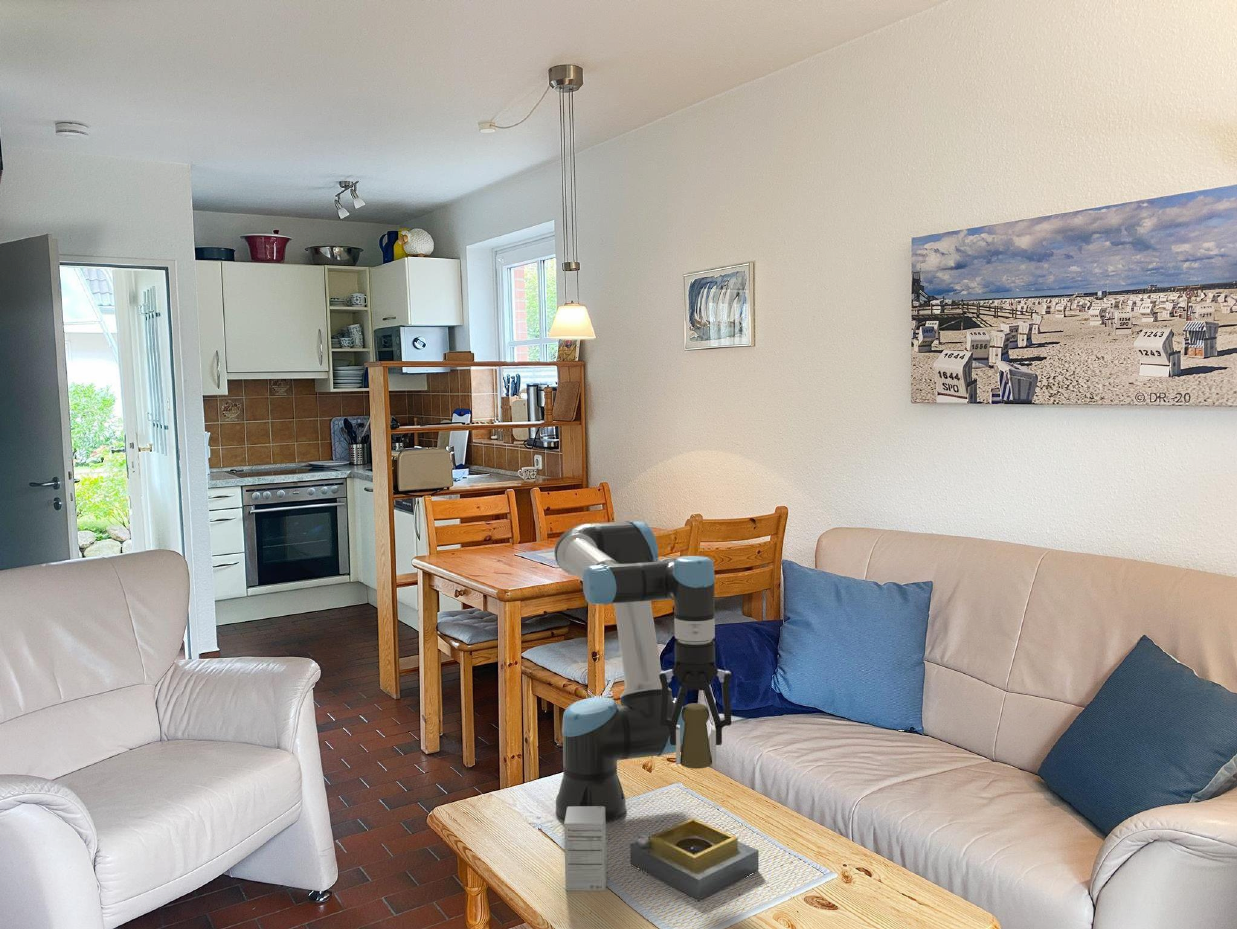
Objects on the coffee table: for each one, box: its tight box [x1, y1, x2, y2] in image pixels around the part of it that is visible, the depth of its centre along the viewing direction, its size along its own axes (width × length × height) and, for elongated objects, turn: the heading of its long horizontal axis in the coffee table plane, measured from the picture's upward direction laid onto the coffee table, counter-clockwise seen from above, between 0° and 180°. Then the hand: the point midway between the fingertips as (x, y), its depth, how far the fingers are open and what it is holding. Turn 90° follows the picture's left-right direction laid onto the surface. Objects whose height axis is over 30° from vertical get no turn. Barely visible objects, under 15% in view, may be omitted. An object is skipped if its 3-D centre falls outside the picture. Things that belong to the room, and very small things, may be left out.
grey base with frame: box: [629, 817, 760, 903], centre depth 173 cm, size 18×16×6 cm
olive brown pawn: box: [679, 702, 713, 770], centre depth 173 cm, size 6×6×11 cm
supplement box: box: [563, 806, 607, 892], centre depth 168 cm, size 7×7×13 cm
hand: (695, 761), depth 173 cm, fingers closed on olive brown pawn, 6 cm apart
